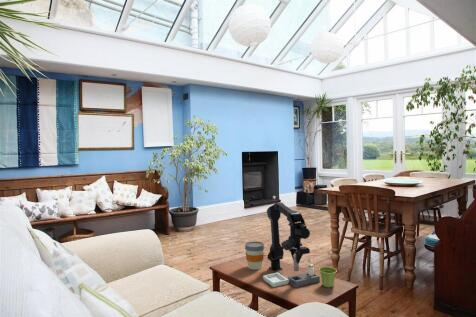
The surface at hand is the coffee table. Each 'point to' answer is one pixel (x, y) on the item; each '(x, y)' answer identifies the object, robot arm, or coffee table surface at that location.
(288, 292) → the coffee table surface
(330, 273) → the plant pot
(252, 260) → the reusable coffee cup
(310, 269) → the cylinder
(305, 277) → the fuse holder
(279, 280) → the parts tray
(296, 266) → the cream capped cylinder
